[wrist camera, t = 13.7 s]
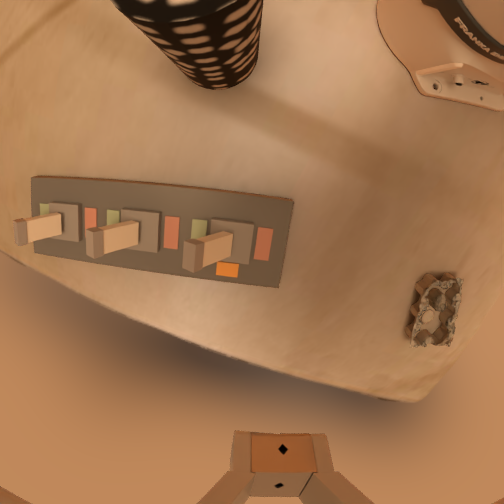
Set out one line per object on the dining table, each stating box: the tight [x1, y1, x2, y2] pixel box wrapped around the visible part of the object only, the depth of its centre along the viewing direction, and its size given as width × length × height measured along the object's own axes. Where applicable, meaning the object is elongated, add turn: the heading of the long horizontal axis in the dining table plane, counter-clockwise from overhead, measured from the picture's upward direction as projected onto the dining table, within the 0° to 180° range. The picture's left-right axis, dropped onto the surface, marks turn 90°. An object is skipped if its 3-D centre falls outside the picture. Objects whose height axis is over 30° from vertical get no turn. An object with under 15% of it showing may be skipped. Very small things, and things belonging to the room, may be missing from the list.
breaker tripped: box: [182, 231, 233, 273], centre depth 30 cm, size 1×3×6 cm
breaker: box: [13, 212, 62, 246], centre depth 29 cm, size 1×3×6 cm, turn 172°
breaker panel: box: [31, 176, 294, 288], centre depth 34 cm, size 32×10×2 cm, turn 82°
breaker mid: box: [86, 220, 139, 259], centre depth 30 cm, size 1×3×6 cm, turn 172°
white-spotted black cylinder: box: [111, 0, 263, 90], centre depth 19 cm, size 8×8×20 cm
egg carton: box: [405, 273, 464, 347], centre depth 37 cm, size 11×8×4 cm
